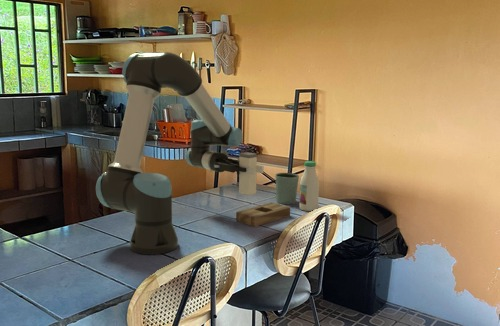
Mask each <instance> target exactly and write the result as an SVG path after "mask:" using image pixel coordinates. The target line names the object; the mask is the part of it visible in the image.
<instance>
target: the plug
mask: <svg viewBox="0 0 500 326" xmlns="http://www.w3.org/2000/svg"><path fill="white" fill-rule="evenodd" d="M257 155H258V154H257V153H255V152H248V151H247V152H245V151H244V152H239V157H238V159H239V165H240V166H241V165H245V166H250V167H255V173H254V175H250V174H246V173H241V172H240V174H238V178H239V179H238V194H242V195H246V196H252V195H257V172H256V165H258V164H257V162H258V160H257V158H258V157H257Z"/></svg>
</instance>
